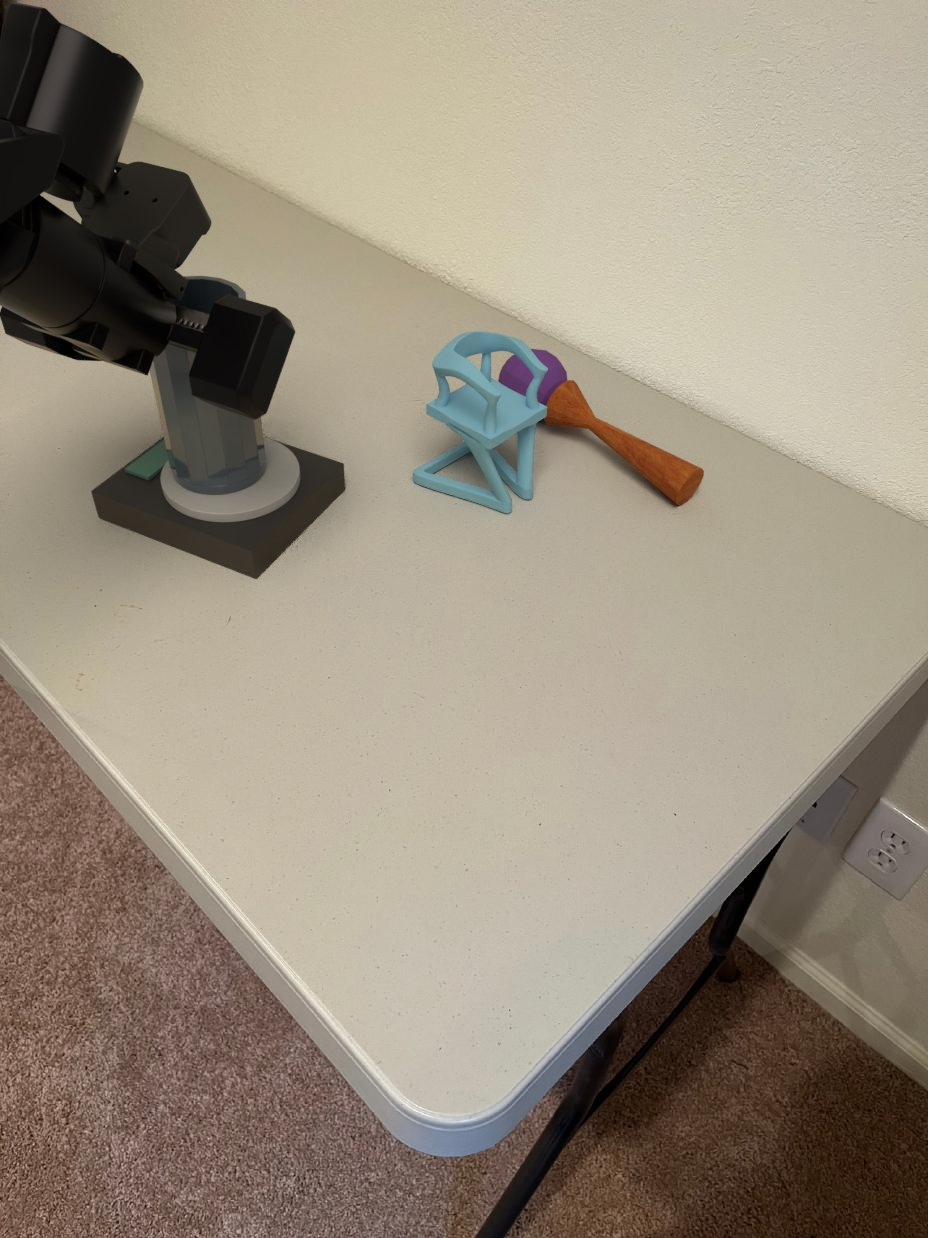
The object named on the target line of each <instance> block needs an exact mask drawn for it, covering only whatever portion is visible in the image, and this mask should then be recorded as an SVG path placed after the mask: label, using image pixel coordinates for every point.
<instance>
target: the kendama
mask: <svg viewBox="0 0 928 1238" xmlns="http://www.w3.org/2000/svg"><path fill="white" fill-rule="evenodd" d="M530 349H531V350H532V352H533V353H534V354H535V356H536V357H537V358H538V360H539V361H540V362H541V363H542V364H543V365H545V366H546V367H547V368H548V370H547V372H546V374H545V376H544V377H543V379H542V381H541V383H540V385H539V388H538V391H537V400H538V402H539V403H541V404H543V405H545V406H547V414H546V417H545V418H543V421H544V423H545V424H546V425H547V426H556V427H564V428H565V427H566V428H575V429H576V428H577V429H585V430H589V431H590V432H591V433H592V434H593V435H595V436H596V437H597V438H598V439H600V441H601V442H603V443H604V444H605V445H607V447H609V448H610V449H611V450H612V451H614V452H615V453H616V454H617V455H618V456H620V457H621V459H623V460H624V461H625V462H627V463H628V464H629V465H630V466H631V467H632V468H634V469H635V470H636V471H637V472H638V473H639V474H641V475H642V476H643V477H644V478H645V479H647V481H649V482H650V483H651V484H652V485H654V487H656V488H657V489H658V490H659V491H660V492H662V493H663V494H664V495H665V496H666V497H668V498H669V499H670V500H671V501H672V502H674V503H675V504H676V505H677V506H682V505H684V504H685V503H687V502H688V501H689V500H690V499H691V498H692V497H693V496H694V495H695V493H696V492H697V490H698V489H699V487H700V485H701V484H702V481H703V479H704V475H705V470H704V469H703V468H702V467H700V466H698V465H696V464H693V463H692V462H689V461H688V460H685V459H683V458H681V457H679V456H677V455H675V454H673V453H671V452H668V451H667V450H664V449H662V448H660V447H658V446H657V445H654V444H652V443H650V442H647V441H646V440H643V439H642V438H640V437H637V436H635V435H633V434H631V433H629V432H627V431H625V430H622V429H621V428H619V427H616V426H615V425H613V424H610V423H608V422H607V421H604V420H602V419H600V418H598V417H596V416H595V414H594V412H593V410H592V408H591V407H590V404H589V403H588V401H587V399H586V398H585V395H584V394H583V392H582V390H581V389H580V387H579V384H578V383H577V382H576V381H575V380H573V379H568V372H567V370H566V369H565V367H564V365H563V364H562V362H561V361H560V360H559V358H558V357H557V355H556V356H555V355H554V354H553V353H551V352H549V350H546V349H539V348H538V349H537V348H530ZM533 378H534V375H533V374H532V373H531V371H530V370H529V368H528V367H527V366H526V365H525V364H524V362H523V361H522V360H521V359H520V358H519V357H517V356H516V355H515V354H513V355H511V356H510V357H508V358H507V360H506V361H505V363H504V364H503V365H502V366H501V369H500V371H499V374H498V380H497V381H498V382H499V383H501V384H503V385H504V386H506V387H507V388H509V389H511V390H513V391H515V392H517V393H519V394H521V395H523V396H525V397H526V392H527V389H528V387H529V385H530V383H531V381H532V380H533Z"/></svg>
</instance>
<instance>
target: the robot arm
mask: <svg viewBox="0 0 928 1238" xmlns="http://www.w3.org/2000/svg"><path fill="white" fill-rule="evenodd" d="M1 26H2V27H1V34H0V306H1V308H0V321H1V324H2V327H3V330H4V334H5V335H7V336H9V337H11V338H13V339H15V340H17V341H19V342H21V343H23V344H25V345H28V346H32V347H34V348H37V349H40V350H43V351H46V352H49V353H52V354H56V355H60V356H63V357H66V358H68V359H72V360H75V361H84V362H85V361H86V362H105V363H107V364H110V365H113V366H117V367H120V368H123V369H126V370H129V371H132V372H134V373H137V374H141V375H144V376H146V377H148V376H149V374H150V368H151V365H152V362H153V359H154V356H159V355H160V354H161V353H162V352H163V351H164V349H165V348H166V346H167V345H168V344H169V345H173V346H176V347H179V348H182V349H185V350H189V351H192V352H195V353H196V355H195V358H194V361H193V364H192V367H191V370H190V372H189V381H190V386H191V392H192V395H193V396H194V397H196V398H198V399H200V400H202V401H204V402H207V403H209V404H211V405H214V406H216V407H219V408H221V409H224V410H227V411H230V412H233V413H236V414H239V415H242V416H245V417H249V418H252V419H255V420H256V419H258V418H259V417H261V418H262V417H263V416H265V415H267V414H268V410H269V408H270V405H271V403H272V399H273V396H274V394H275V391H276V388H277V385H278V382H279V380H280V377H281V375H282V374H281V373H282V371H283V368H284V365H285V362H286V360H287V357H288V354H289V352H290V348H291V346H292V343H293V340H294V337H295V334H296V329H295V327H294V324H293V322H292V320H291V319H290V318H289V317H288V316H286V315H285V314H284V313H282V312H281V310H279V309H278V308H276V307H273V306H270V305H267V304H264V303H259V302H256V301H254V300H253V301H252V300H250V299H247V298H246V299H247V300H246V299H243V298H239V297H236V296H232V295H229V294H227V295H226V296H224V297H222V298H221V299H219V300H218V301H216V302H215V303H214V304H213V307H212V310H211V313H210V314H206V313H203V312H200V311H196V310H193V309H189V308H186V307H183V306H179V305H176V304H173V302H174V299H178V300H181V299H182V297H183V294H184V292H185V289H186V286H187V283H188V279H186V278H185V277H184V276H183V275H182V274H181V273H180V272H178V270H177V269H178V268H180V267H182V265H183V264H184V263H185V261H186V260H187V258H188V257H189V255H190V254H191V252H192V251H193V250H194V249H195V247H196V245H197V243H198V242H199V241H200V239H201V238H202V236H206V235H207V233H209V231H210V229H211V227H212V219H211V217H210V215H209V212H208V211H207V209H206V207H205V205H204V203H203V201H202V199H201V197H200V195H199V193H198V191H197V189H196V186H195V185H194V183H193V181H192V178H191V177H190V175H189V174H188V173H186V172H184V171H181V170H177V169H173V168H170V167H165V166H161V165H157V164H152V163H150V162H144V161H132V162H129V163H125V162H121V161H119V159H120V157H121V153H122V150H123V147H124V145H125V142H126V139H127V135H128V133H129V130H130V128H131V125H132V121H133V118H134V116H135V113H136V111H137V107H138V104H139V101H140V99H141V96H142V92H143V90H144V87H145V86H144V79H143V78H142V76H141V73H140V72H139V71H138V69H137V68H136V67H135V66H134V65H133V64H132V62H131V61H129V60H128V59H127V57H125V56H124V55H122V54H120V53H117V52H113V51H112V50H110V49H109V48H107V47H106V46H104V45H103V44H101V43H100V42H98V41H97V40H96V39H94V38H92V37H90V36H88V35H86V34H85V33H83V32H81V31H80V30H78V29H75V28H73V27H70V26H68V25H66V24H64V23H62V22H60V21H59V20H58V19H57V18H56V17H55V16H54V15H53V14H52V13H51V12H50V11H49V10H48V9H47V8H46V7H44V6H43V7H42V6H37V5H32V4H26V3H22V2H16V1H13V2H10V3H9V5H8V8H7V11H6V14H5V17H4V19H3V23H2V25H1ZM43 193H46V194H47V195H50V196H52V197H54V198H58V199H61V200H64V201H67V202H71V203H72V204H73V208H74V210H75V212H77V213H78V215H79V217H80V218H81V221H80V222H78V220H76V219H75V218H73V217H72V216H71V215H69V214H68V213H66V212H65V211H63V210H62V209H60V208H59V207H58V206H56V205H55V204H54V203H52V202H51V201H49V200H48V199H47V198H45V196H42V194H43ZM176 323H179V324H180V325H185V326H187V327H188V326H189V327H191V328H195V329H197V330H199V329H200V330H201V331H203V332H204V333H203V332H200V331H196V330H193V329H190V328H187V327H183V326H180V325H177V324H176Z"/></svg>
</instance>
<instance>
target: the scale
mask: <svg viewBox="0 0 928 1238" xmlns="http://www.w3.org/2000/svg"><path fill="white" fill-rule="evenodd" d="M263 438H264V446H265V454H266V462H267V466H266V470H265V473H264V474H263V476H262V477H261V478H260V479H259V480H258V481H257V482H256V483H255V484H253V485H252V486H250V487H248V488H246V489H243V490H241V491H238V492H234V493H230V494H223V495H205V494H199V493H195V492H191V491H189V490H187V489H185V488H183V487H182V486H180V485H179V484H178V483H177V482H176V481H175V479H174V477H173V475H172V470H171V468H170V464H169V459H168V455H167V450H166V445H165V441H164V436H162V437H161V438H160V439H159V440H158V441H156V442H155V443H153V444H152V445H150V447H148V448H147V449H145V450H144V451H143V452H141V453H140V454H139V455H137V456H136V457H135V458H133V459H132V460H131V461H129V462H128V463H126V464H125V465H123V466H122V467H121V468H120V469H118V470H117V471H116V472H114V473H113V474H112V475H111V476H109V477H108V478H107V479H105V480H103V481H102V482H101V483H100V484H98V485H97V486H96V487H94V488H93V489H92V490H91V491H90V492H91V496H92V499H93V502H94V506H95V510H96V513H97V517H98V518H99V519H101V520H103V521H106V522H108V523H110V524H113V525H116V526H119V527H121V528H124V529H127V530H129V531H132V532H133V533H137V534H140V535H142V536H144V537H147V538H150V539H152V540H154V541H157V542H160V543H163V544H165V545H168V546H169V547H170V546H171V547H173V548H176V549H178V550H180V551H183V552H186V553H189V554H191V555H193V556H196V557H198V558H201V559H204V560H207V561H209V562H211V563H213V564H214V563H215V564H216V565H219V566H221V567H224V568H227V569H230V570H232V571H235V572H238V573H240V574H242V575H245V576H248V577H250V578H252V579H258V578H259V577H260V576H261V575H262V573H264V572H265V571H266V570H267V569H268V568H269V567H270V566H271V565H272V564H273V563H274V562H275V561H276V560H277V559H278V558H279V557H280V556H281V555H282V554H283V553H284V552H285V551H286V550H287V549H288V548H289V547H290V546H291V545H292V544H293V543H294V542H295V541H296V540H297V539H298V538H299V537H300V536H301V534H302V533H304V532H305V531H306V529H307V528H309V526H310V525H311V524H313V523H314V522H315V521H316V519H317V518H319V516H321V514H323V512H324V511H326V509H327V508H328V507H330V505H331V504H333V502H334V501H335V500H337V498H338V497H339V496H340V495H341V494H342V493H343V492H344V491H346V483H345V482H346V479H345V463H343V462H341V461H338V460H334V459H332V458H329V457H326V456H323V455H320V454H317V453H314V452H311V451H308V450H305V449H302V448H299V447H296V446H294V445H291V444H287V443H285V442H281V441H278V440H275V439H272V438H270V437H266V436H263Z"/></svg>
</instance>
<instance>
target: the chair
mask: <svg viewBox="0 0 928 1238" xmlns="http://www.w3.org/2000/svg"><path fill="white" fill-rule="evenodd" d="M531 349H532V348H530V347H529V345H528V344H527V343H526V342H524V341H523V340H522V339H519V338H518V337H514V336H510V335H506V334H502V333H498V332H492V331H485V330H484V331H482V330H474V331H466V332H464V333H460V334H458V335H457V336H455V337H454V338H453V339H451V340H450V341H449V342H448V343H446V345H444V347H443V348H441V350H439V352H438V353H437V354H436V355H435V356H434V358H433V360H432V363H431V365H432V369H433V372H434V375H435V378H436V381H437V385H438V394H437V397H436V398H435V399H433V400H431V401H429V402H427V403H426V405H425V408H426V409H425V415H427V416H429V417H430V418H433V419H434V420H436V421H438V422H440V423H443V424H444V425H445V426H447V427H448V428H449V429H450V430H451V431H452V432H454V433H455V434H456V435H457V436H458V437H459V438H460V439H461V440H462V441H463V442H461V443H459V444H458V445H456V446H454V447H452V448H450V449H448V450H447V451H445V452H444V453H442V454H440V455H438V456H436V457H435V458H433V459H430V460H429V461H428V462H426V463H424V464H422V465H421V466H419V467H418V468H416V469H414V470H413V472H412V481H413V482H414V483H415V484H417V485H419V486H421V487H425V488H428V489H429V490H434V491H436V492H440V493H443V494H446V495H449V496H452V497H455V498H459V499H463V500H465V501H469V502H473V503H476V504H479V505H482V506H485V507H487V508H490V509H492V510H495V511H498V512H501V513H503V514H510V513H511V512H512V511H513V504H512V503H513V502H512V501H513V499H512V497H511V494H509V492H508V490H507V488H506V486H508V487H509V488H510V489H511V490H512V491H513V492H514V493H515V494H516V495H517V496H519V497H520V498H521V499H523V500H527V501H529V500H531V499H533V496H534V495H533V494H534V493H533V491H534V490H533V489H534V487H533V486H534V485H533V484H534V483H533V482H534V455H535V453H534V451H535V439H536V438H535V436H536V429H537V424H538V422H540V421H542V420H544V418H545V417H546V414H547V406H545V405H543V404H541V403H539V402H538V400H537V391H538V388H539V385H540V383H541V381H542V379H543V377H544V376H545V374H546V372H547V370H548V368H547V367H546V366H545V365H543V364H542V363H541V362H540V361H539V360H538V358H537V357H536V356H535V354H534V353H533V352H532V350H531ZM496 352H508V353H510V354H513V355H514V354H515V355H516V356H517V357H519V358H520V359H521V360H522V361H523V362H524V364H525V365H526V366H527V367H528V368H529V370H530V371H531V373H532V374H533V375H534V378H533V380H532V381H531V383H530V385H529V387H528V389H527V392H526V397H525V396H523V395H521V394H519V393H517V392H515V391H513V390H511V389H509V388H507V387H506V386H504V385H503V384H501V383H499V382H498V380H497V379H494V378H492V353H496ZM480 354H481V363H480V369H479V368H478V367H477V366H476V364H474V363H473V362H472V361H471V360H470V359H468V358H469V357H472V356H474V355H480ZM447 377H450V378H455V379H458V380H461V381H462V382H463V383H465V384H464V385H462V386H461V387H459V388H456V389H455V390H453V391H451V387H450V384H449V382H448V380H447ZM515 434H516V440H517V441H516V443H517V446H516V447H517V456H516V457H517V460H516V461H517V464H516V465H517V467H516V470H515V469H514V468H513V467H512V466H511V464H509V463H508V461H506V460H505V458H503V456H502V455H501V454H500V453H499V452H498V451H497V450H496V449H495V448H496V447H497V446H499V445H501V444H503V443H504V442H505V441H506V440H508V439H509V438H511V437H512V436H513V435H515ZM469 453H472V455H473V457H474V459H475V460H476V462H477V464H478V466H479V468H480V469H481V471H482V474H483V476H484V477H485V479H486V481H487V483H488V485H489V488H490V489H488V488H484V487H481V486H477V485H473V484H470V483H466V482H462V481H459V480H455V479H451V478H448V477H445V476H441V475H437V474H435V473H437V472H438V471H440V470H441V469H444V468H445V467H446V466H448V465H450V464H452V463H453V462H456V461H457V460H458V459H460V458H462V457H463V456H466V455H468V454H469ZM504 483H505V484H506V486H505V484H504Z"/></svg>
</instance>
